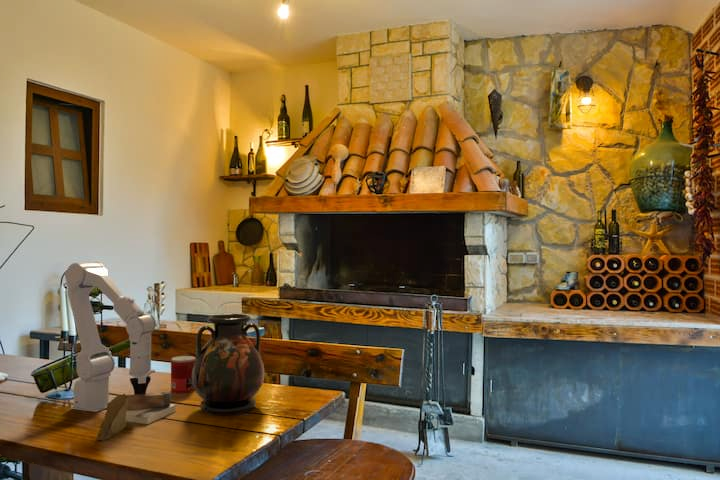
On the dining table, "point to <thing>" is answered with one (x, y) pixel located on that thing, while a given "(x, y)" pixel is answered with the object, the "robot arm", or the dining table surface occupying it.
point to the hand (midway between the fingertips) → (139, 402)
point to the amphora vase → (228, 366)
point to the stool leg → (149, 400)
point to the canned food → (182, 374)
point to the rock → (114, 417)
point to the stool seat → (149, 414)
